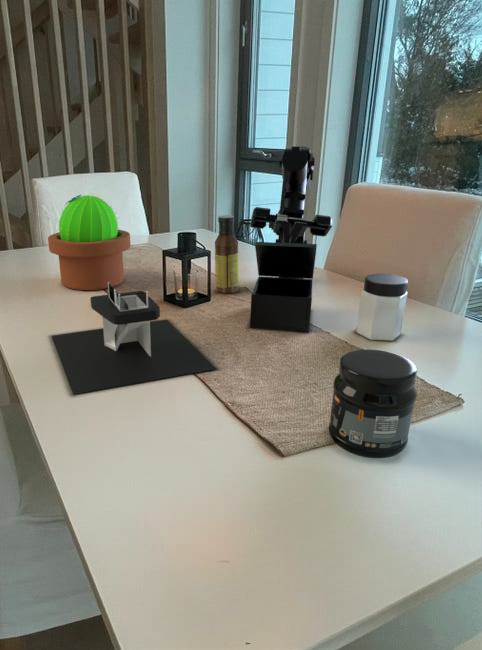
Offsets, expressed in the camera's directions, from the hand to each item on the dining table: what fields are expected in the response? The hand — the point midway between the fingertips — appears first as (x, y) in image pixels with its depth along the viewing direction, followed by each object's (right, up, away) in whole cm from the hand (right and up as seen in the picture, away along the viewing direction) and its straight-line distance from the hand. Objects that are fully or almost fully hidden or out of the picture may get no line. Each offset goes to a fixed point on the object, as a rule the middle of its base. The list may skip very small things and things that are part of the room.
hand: (287, 254), depth 121 cm
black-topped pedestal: (-36, -23, -19) cm, 47 cm away
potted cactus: (-50, -4, +27) cm, 57 cm away
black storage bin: (-2, -15, -4) cm, 16 cm away
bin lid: (-2, -3, -8) cm, 8 cm away
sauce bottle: (-13, -7, +17) cm, 23 cm away
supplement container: (0, -35, -49) cm, 60 cm away
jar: (+16, -19, -13) cm, 28 cm away
